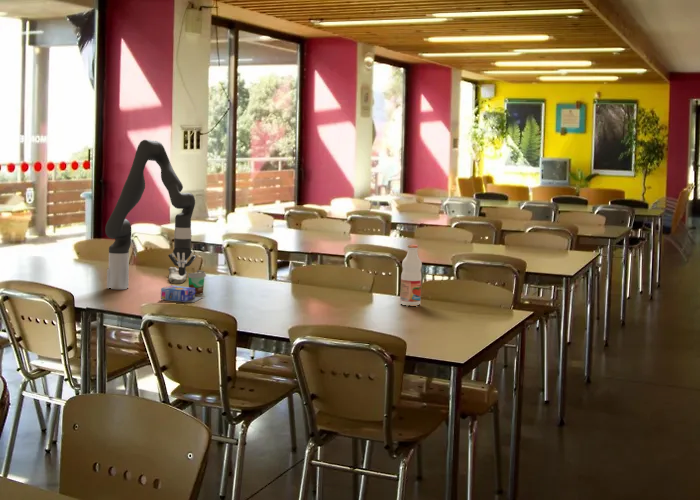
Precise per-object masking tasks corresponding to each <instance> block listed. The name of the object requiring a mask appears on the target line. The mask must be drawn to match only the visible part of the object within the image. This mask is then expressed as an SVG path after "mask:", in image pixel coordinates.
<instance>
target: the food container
mask: <svg viewBox="0 0 700 500" xmlns="http://www.w3.org/2000/svg"><path fill="white" fill-rule="evenodd" d="M205 277H207V273H206V272H205V271H204V270H202V269H201V270H200V269H196V271H195V272H187V278H188V287H192V288H195V295H200V294H203V293H204V285H205ZM196 291H197V292H196Z"/></svg>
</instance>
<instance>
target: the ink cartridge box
mask: <svg viewBox="0 0 700 500" xmlns="http://www.w3.org/2000/svg"><path fill="white" fill-rule="evenodd" d="M196 292H197V291H196ZM195 297H196V294H195V288H192V287H189V286H180V285H179V286H178V285H167V286H164V287H161V288H160V300H162V301H163V300H164V301H166V300H172V301H171V302H177V301H182V302H181V303H186V302H185V301H188V300H192V299H195Z"/></svg>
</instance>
